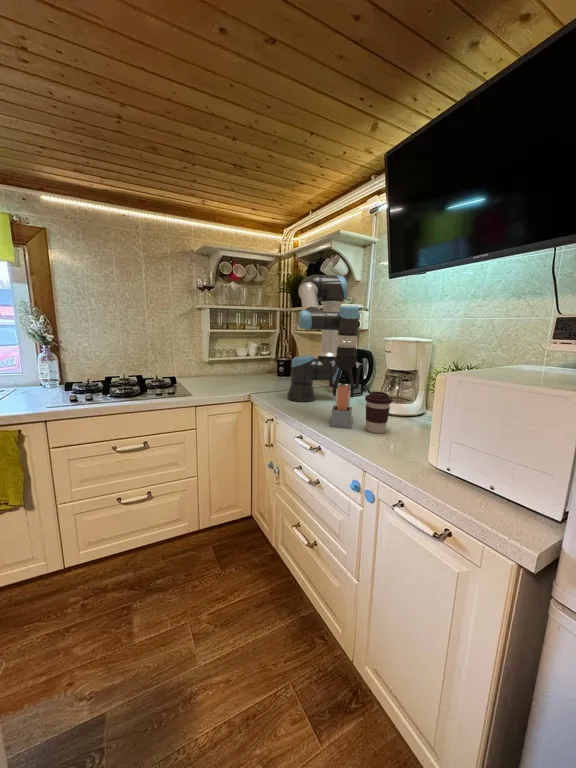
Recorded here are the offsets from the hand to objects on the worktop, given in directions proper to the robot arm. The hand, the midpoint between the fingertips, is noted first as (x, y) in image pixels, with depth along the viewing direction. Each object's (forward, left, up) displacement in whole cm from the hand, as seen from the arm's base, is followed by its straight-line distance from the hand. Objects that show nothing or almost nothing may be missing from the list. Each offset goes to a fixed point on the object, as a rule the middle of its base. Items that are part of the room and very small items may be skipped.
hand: (342, 404), depth 129 cm
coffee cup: (+3, +14, -9) cm, 16 cm away
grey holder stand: (-4, 0, -9) cm, 10 cm away
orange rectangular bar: (0, 0, -6) cm, 6 cm away
